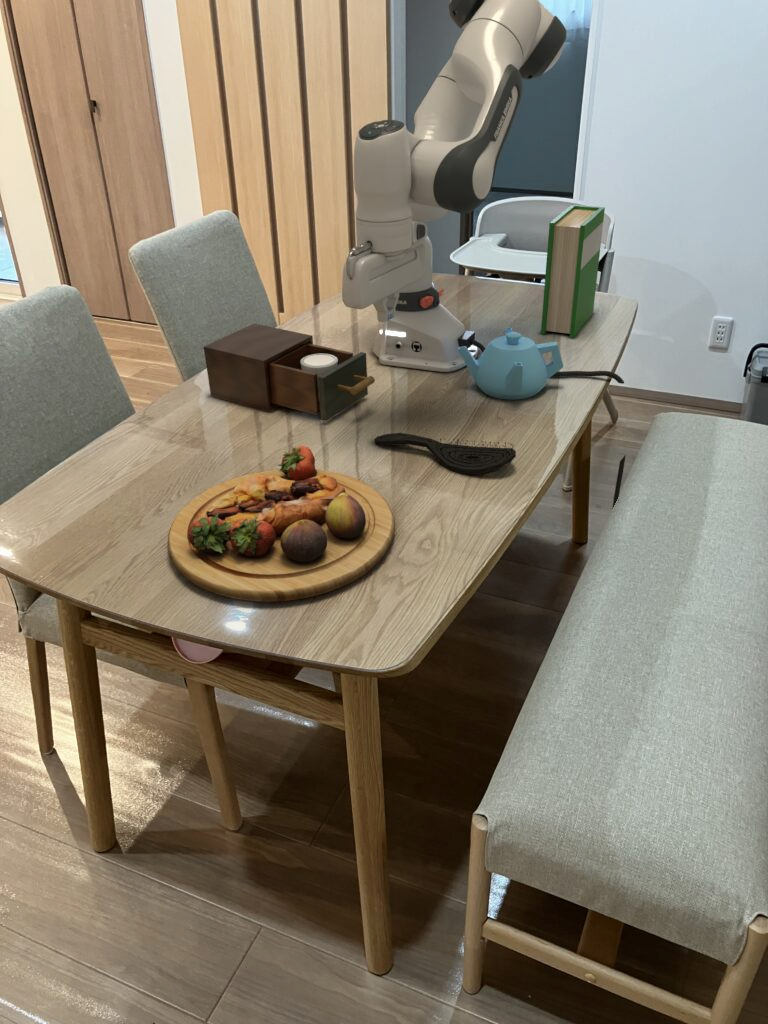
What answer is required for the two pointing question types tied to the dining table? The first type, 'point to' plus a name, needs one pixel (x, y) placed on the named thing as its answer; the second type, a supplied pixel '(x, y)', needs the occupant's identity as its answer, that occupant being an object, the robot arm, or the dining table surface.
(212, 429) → the dining table surface
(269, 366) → the drawer
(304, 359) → the white cylinder
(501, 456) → the hairbrush
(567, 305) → the hardback book
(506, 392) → the teapot
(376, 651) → the dining table surface
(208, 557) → the wooden plate
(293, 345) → the cabinet
